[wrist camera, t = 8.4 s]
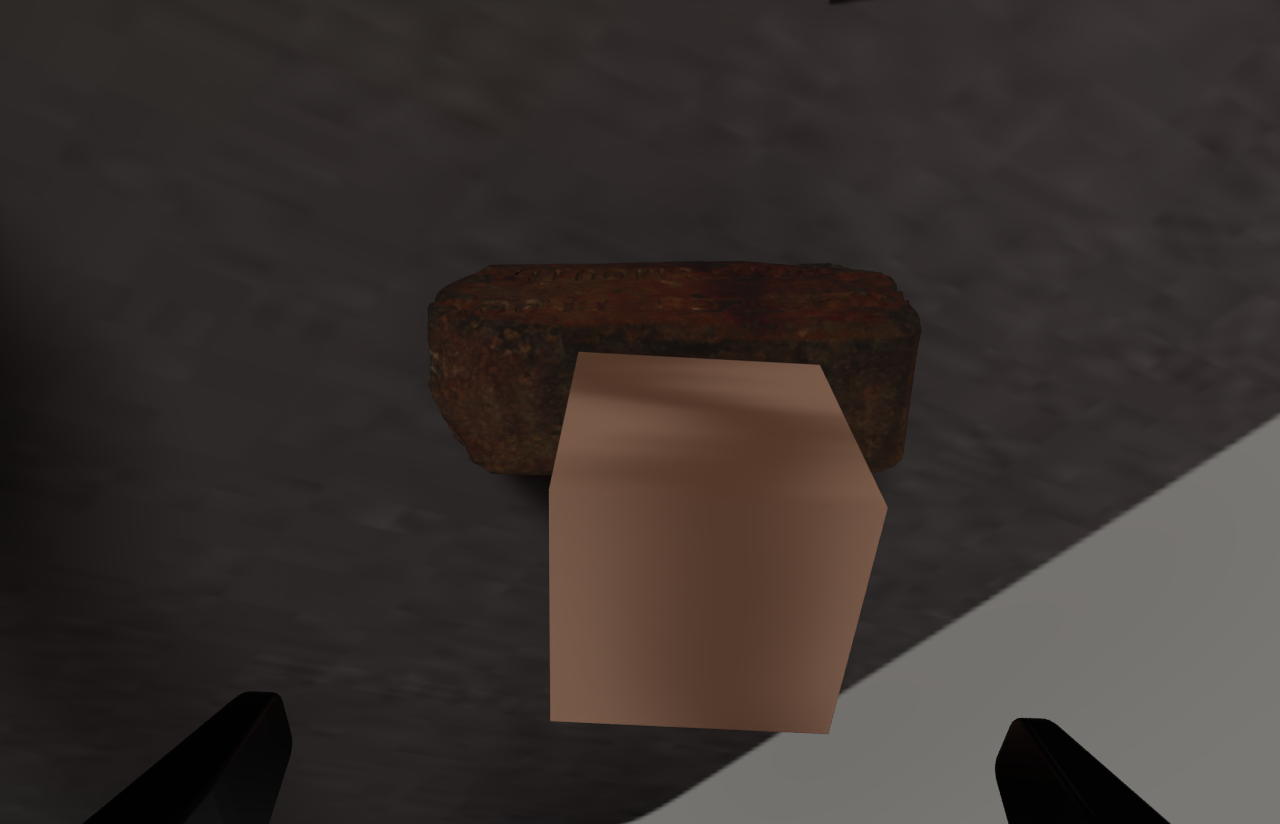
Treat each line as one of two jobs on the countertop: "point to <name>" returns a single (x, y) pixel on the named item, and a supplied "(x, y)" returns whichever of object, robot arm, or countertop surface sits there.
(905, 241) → the countertop surface
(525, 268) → the brick
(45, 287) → the countertop surface
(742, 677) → the top block
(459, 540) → the countertop surface
